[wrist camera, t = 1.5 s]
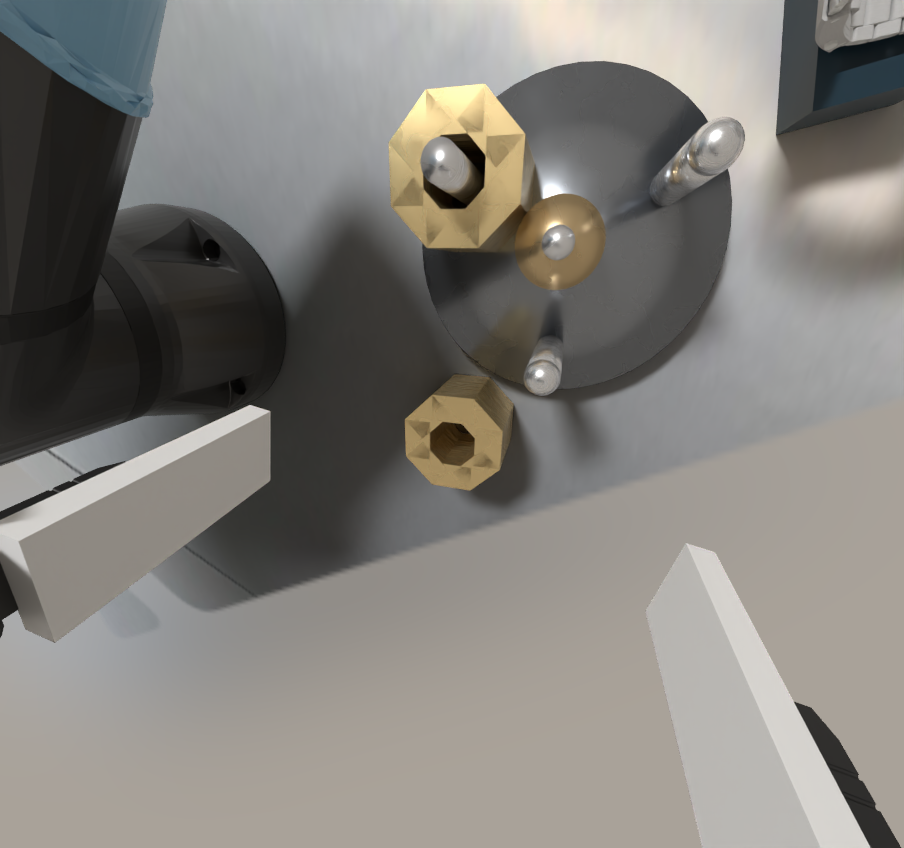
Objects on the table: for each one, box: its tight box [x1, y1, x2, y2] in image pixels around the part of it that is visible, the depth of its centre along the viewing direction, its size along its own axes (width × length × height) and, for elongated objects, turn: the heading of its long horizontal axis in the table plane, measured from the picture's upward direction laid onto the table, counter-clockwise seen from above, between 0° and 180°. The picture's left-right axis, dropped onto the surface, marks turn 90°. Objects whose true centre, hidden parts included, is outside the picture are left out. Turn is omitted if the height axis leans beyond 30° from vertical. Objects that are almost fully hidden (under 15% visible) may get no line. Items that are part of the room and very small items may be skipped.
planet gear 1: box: [389, 84, 535, 252], centre depth 19 cm, size 6×6×5 cm
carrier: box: [420, 61, 745, 396], centre depth 19 cm, size 16×16×9 cm
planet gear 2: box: [405, 374, 514, 490], centre depth 26 cm, size 6×6×5 cm
